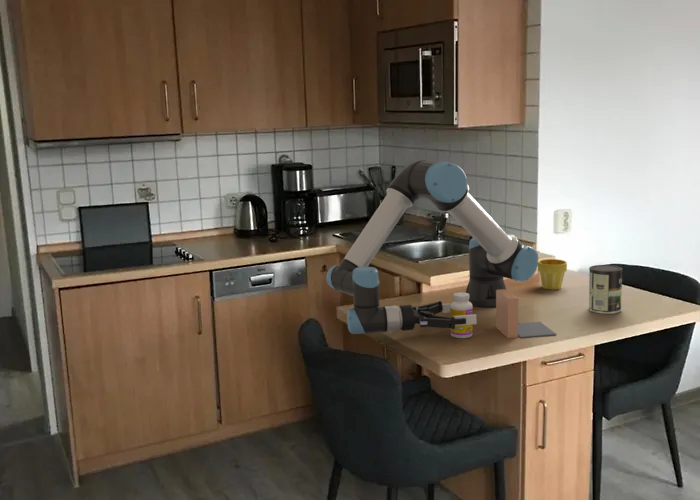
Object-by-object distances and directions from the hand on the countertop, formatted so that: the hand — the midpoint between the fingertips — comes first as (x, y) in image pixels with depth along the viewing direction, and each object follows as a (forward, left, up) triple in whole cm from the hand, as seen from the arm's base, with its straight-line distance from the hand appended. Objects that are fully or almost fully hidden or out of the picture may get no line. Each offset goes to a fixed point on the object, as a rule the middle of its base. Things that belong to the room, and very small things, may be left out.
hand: (469, 312), depth 227 cm
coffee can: (+20, +48, -7) cm, 53 cm away
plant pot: (-8, +65, -7) cm, 66 cm away
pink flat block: (+7, +9, -7) cm, 13 cm away
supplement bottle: (-2, -2, -7) cm, 8 cm away
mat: (+12, +15, -7) cm, 20 cm away
